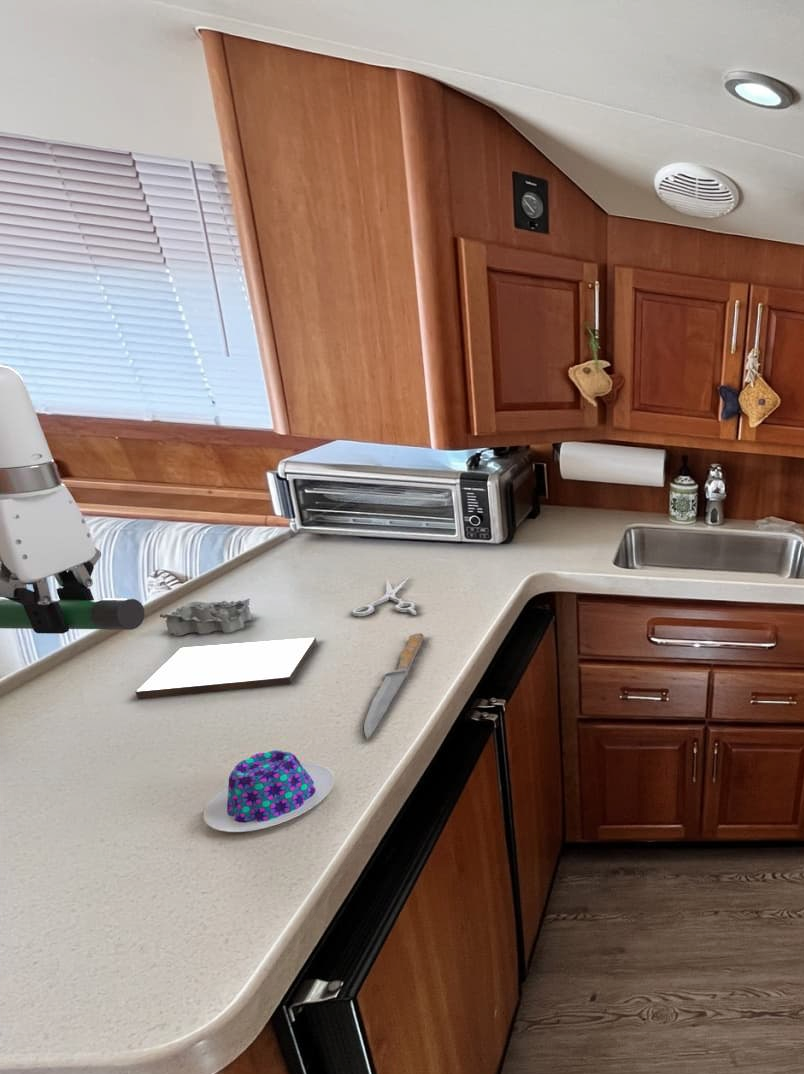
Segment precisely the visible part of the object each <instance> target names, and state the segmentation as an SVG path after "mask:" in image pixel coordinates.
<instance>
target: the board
mask: <svg viewBox="0 0 804 1074" xmlns="http://www.w3.org/2000/svg"><path fill="white" fill-rule="evenodd" d="M317 644H318V642H317V638H316V637H308V638H307V637H306V638H305V637H304V638H291V639H279V640H266V641H253V642H241V643H239V642H237V643H227V644H215V645H213V644H212V645H202V646H201V645H200V646H188V647H181V648H179V649H178V651H176V652H175V653H174V655H172V656H171V657H170V658H169V659H168V660H167V661H166V662H164V664H163V665H162V666H161V667H160V668H159V669H157V671H155V672H154V673H153V674H152V675H151V676H150V677H149V678H148V679H147V680H145V682H144V683H143V684H142V685H140V687H138V688H137V690H135V696H136V697H137V699H138V700H140V699H150V698H151V699H152V698H161V697H162V698H163V697H170V696H182V695H190V694H191V695H192V694H203V693H210V692H212V693H213V692H221V691H231V690H243V689H252V688H262V687H263V688H265V687H273V686H282V685H291V684H292V683H293V682H294V680H295V679H296V677H297V675H298V674H299V673H300V671H301V669H302V667H303V666H304V664H305V663H306V662H307V660H308V658H309V657H310V655H311V654H312V652H313V650H314V649H315V648H316V646H317Z"/></svg>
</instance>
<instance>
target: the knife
mask: <svg viewBox="0 0 804 1074" xmlns="http://www.w3.org/2000/svg"><path fill="white" fill-rule="evenodd" d="M424 640H425V638H424V634H423V632H422V633H421V632H420V633H414V634H411V635H409V637H408V643H407V645H405V647H404V649H402V651H401V652H400V653H401V654H400V660H399V663H398V667H397V669H395V670H393V671H390V672H387V673H385V675H384V680H383V681H382V683H381V685H380V687H379V688H378V691H377V692H376V694H375V695H374V697H373V700H372V702H371V703H370V706H369V709H368V711H367V714H366V717H365V720H364V724H363V732H364V735H365V738H366V740H369V738H370V737H371V736H372V735H373V733H374V732H375V730H376V729H377V726H378V725H379V724H380V722H381V720H382V718H383V717H384V716H385V714H386V712H387V711H388V708H389V706H390V705H391V703H392V701H393V699H394V698H395V696H396V694H397V692H398V691H399V689H400V687H401V686H402V684H403V682H404V681H405V680H406V678H407V677H408V675H409V672H410V670H411V667H412V665H413V662H414V661H415V658H416V656H417V654H418V652H419V651H420V648H421V646H422V643H423V642H424Z"/></svg>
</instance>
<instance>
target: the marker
mask: <svg viewBox="0 0 804 1074" xmlns="http://www.w3.org/2000/svg"><path fill="white" fill-rule="evenodd" d="M51 600H52V601H51V602H58V603H59V605H60V607H61V610H62V612H63V614H64V617H65V621H66V623H67V624H68V627H69V630H107V631H108V630H112V631H113V630H119V631H121V630H124V631H125V630H126V631H128V630H131V631H132V630H135V629H137V628H139V627H140V626H141V625H142V623H143V621H144V619H145V613H146V612H145V607H144V605H143V604H142V602H141V601H139V600H137V599H136V598H111V597H109V598H107V597H106V598H101V599H99V600H95V599H94V600H60V599H51ZM0 629H9V630H12V629H21V630H22V629H23V630H27V629H28V630H30V629H31V630H33V628H32V625H31V623H30V621H29V618H28V616H27V614H26V611H25V609H24V607H23V605H17V604H16V603H15V602H14V601H12V600H9V599H7V598H1V599H0Z"/></svg>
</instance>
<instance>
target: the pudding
mask: <svg viewBox="0 0 804 1074" xmlns="http://www.w3.org/2000/svg"><path fill="white" fill-rule="evenodd" d="M334 785H335V775H334V773H333V771H332V770H330V769H329V768H327V767H326V766H324V765H321V764H317V763H310V762H300V760H299V759H298V758H297V756H296V755H295V754H294V753H292V752H290V751H282V750H277V749H274V750H270V751H267V752H259V753H256V754H253V755H251V756H250V757H249V758H247V759H244V760H241V761H240V762H238V763H237V764H236V765H235V766H234V768H233V770H231V772H230V774H229V777H228V785H227V786H226V787H225V788H223V789H221V791H219V792H217V794H216V795H214V797H212V798H211V799H210V801H209V802H208V803H207V805H206V807H205V808H204V811H203V820H204V822H205V824H206V825H207V826H209V828H211V829H213V830H216V831H220V832H227V833H243V832H254V831H257V830H262V829H267V828H270V827H273V826H276V825H279V824H282V823H285V822H287V821H288V822H289V820H292V819H295V818H296V817H299V816H301V815H303V814H304V813H306V812H308V811H309V810H311V809H313V808H314V807H315V806H317V805H318V804H319V803H320V802H322V801H323V800H324V799H325V798H326V797H327V796H328V795H329V794H330V792H331V790H332V789H333V787H334Z"/></svg>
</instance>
